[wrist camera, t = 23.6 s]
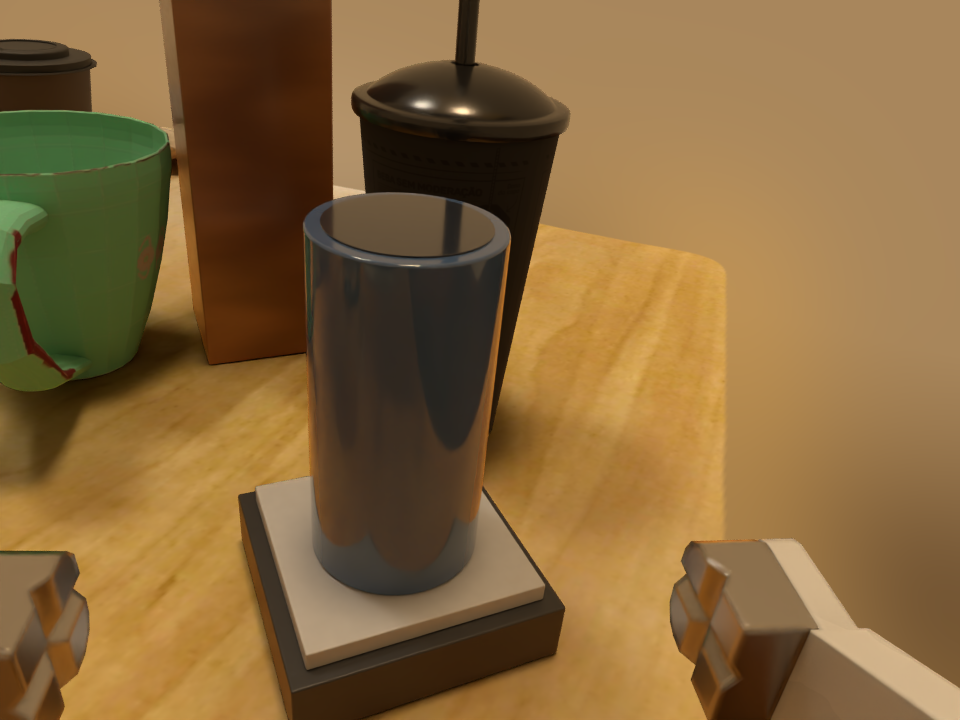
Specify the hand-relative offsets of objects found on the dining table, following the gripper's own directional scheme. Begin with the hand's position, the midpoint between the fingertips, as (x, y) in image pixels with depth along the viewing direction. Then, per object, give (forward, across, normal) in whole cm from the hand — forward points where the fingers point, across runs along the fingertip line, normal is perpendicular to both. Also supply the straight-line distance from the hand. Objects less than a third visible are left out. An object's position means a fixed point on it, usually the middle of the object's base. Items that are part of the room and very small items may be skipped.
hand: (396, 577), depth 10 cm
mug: (+23, +14, +12) cm, 29 cm away
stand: (+28, +6, +11) cm, 31 cm away
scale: (+10, 0, +11) cm, 15 cm away
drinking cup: (+20, -3, +12) cm, 23 cm away
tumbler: (+10, 0, +9) cm, 13 cm away
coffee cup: (+46, +22, +11) cm, 52 cm away
